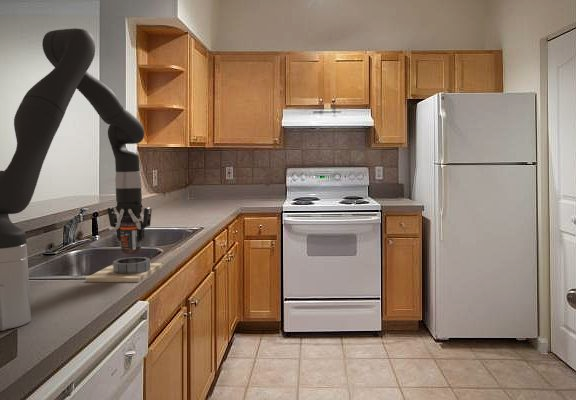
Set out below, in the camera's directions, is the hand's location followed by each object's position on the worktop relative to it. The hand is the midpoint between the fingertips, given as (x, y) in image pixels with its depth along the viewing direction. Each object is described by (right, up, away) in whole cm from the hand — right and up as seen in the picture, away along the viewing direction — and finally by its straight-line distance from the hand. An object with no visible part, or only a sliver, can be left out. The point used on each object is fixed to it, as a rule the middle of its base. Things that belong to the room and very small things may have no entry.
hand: (130, 240), depth 154 cm
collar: (0, -9, +1) cm, 9 cm away
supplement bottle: (0, -4, 0) cm, 4 cm away
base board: (-2, -10, +1) cm, 11 cm away
